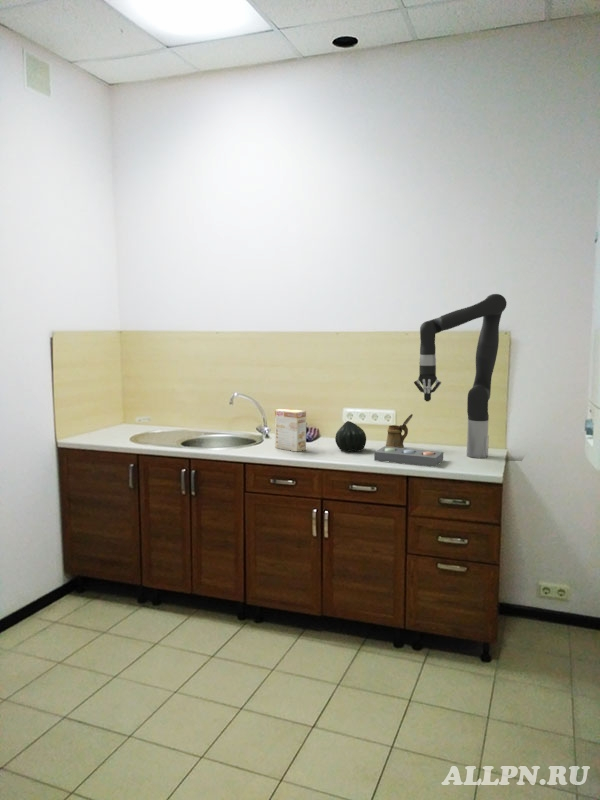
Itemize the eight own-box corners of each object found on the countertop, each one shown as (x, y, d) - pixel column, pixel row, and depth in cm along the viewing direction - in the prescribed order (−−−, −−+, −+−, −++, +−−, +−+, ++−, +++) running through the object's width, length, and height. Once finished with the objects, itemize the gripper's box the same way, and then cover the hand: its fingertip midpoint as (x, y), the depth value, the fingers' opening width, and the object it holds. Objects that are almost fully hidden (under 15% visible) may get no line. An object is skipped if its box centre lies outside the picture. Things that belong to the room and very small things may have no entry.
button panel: (443, 460, 279) (443, 451, 279) (435, 466, 267) (435, 457, 266) (384, 454, 292) (384, 446, 291) (374, 460, 279) (374, 451, 279)
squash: (364, 443, 290) (365, 417, 298) (333, 444, 292) (334, 417, 301) (366, 458, 301) (367, 432, 310) (336, 458, 304) (337, 432, 312)
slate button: (415, 457, 280) (415, 450, 280) (412, 459, 276) (412, 452, 275) (405, 456, 282) (405, 449, 282) (402, 458, 278) (402, 451, 277)
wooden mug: (409, 451, 298) (409, 415, 296) (382, 449, 304) (383, 413, 302) (414, 448, 306) (415, 412, 303) (388, 445, 312) (389, 410, 310)
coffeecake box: (306, 449, 302) (306, 410, 300) (296, 452, 297) (296, 412, 295) (284, 445, 312) (284, 407, 310) (274, 448, 307) (274, 409, 305)
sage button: (396, 455, 284) (396, 448, 284) (393, 457, 280) (393, 450, 279) (386, 454, 286) (386, 447, 286) (383, 456, 282) (383, 449, 281)
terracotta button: (435, 459, 276) (435, 452, 276) (432, 461, 272) (432, 454, 271) (424, 458, 278) (424, 451, 278) (421, 460, 274) (421, 453, 273)
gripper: (443, 364, 287) (443, 400, 289) (415, 363, 292) (415, 399, 294) (440, 365, 280) (439, 402, 282) (411, 364, 286) (411, 401, 288)
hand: (427, 401), depth 288 cm, fingers closed
